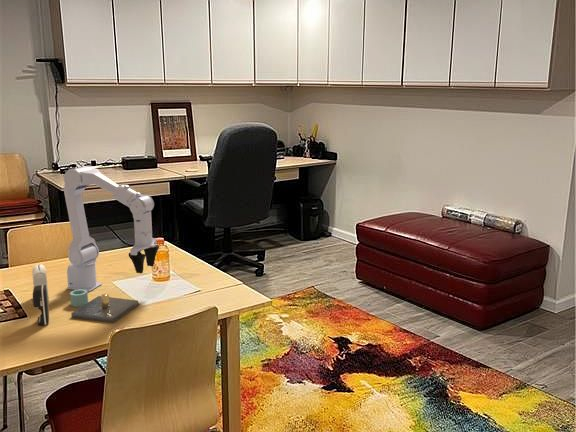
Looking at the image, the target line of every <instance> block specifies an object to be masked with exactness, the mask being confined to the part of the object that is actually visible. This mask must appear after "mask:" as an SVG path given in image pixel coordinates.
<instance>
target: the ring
mask: <svg viewBox="0 0 576 432" xmlns="http://www.w3.org/2000/svg"><path fill="white" fill-rule="evenodd" d="M88 292H89V291H87V290H83V289H80V290H72V291H70V292H69V301H70V306H71V307H76V308H80V307H82V306H83V305H85V304H87V303H88V302H89V294H88Z"/></svg>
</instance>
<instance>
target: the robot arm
mask: <svg viewBox="0 0 576 432" xmlns="http://www.w3.org/2000/svg"><path fill="white" fill-rule="evenodd" d="M63 181H64V186H63V192H64V193H63V194H64V198H65V204H66V209H67V214H68V220H69V224H70V225H69V226H70V229H71V230H70V231H71V235H72V240H71V242H70V244H69V245H68V254H67V256H68V257H67V258H68V260H69V264H68V265H67V270H66V275H67V287H66V289H67V290H72V291H74V290H80V289H83V290H87V292H91V291H93V290H95V289H97V288H98V287H100V286H101V285H103V283H102V282H97V270H96V269H97V268H96V262H97V258H98V257H99V254H100V249H99V247H98V246H97V244H96V240H95V238H93V237H91V236H90V231H89V227H88V222H87V217H86V212H85V207H84V201H83V196H82V195H83V194H82V193H83V192H84V191H85V189H86V188H87V187H89V186H90V185H91V186H92V185H95V186H97V187H99V188H100V189H103V190H104V191H107V192H108V193H111V194H113V198H114V200H116V201H118V202H119V203H121V204H123V205H124V206H126V207H128V208H129V211H130V212H131V214H132V218H133V225H134V226H133V227H134V228H133V229H134V245H133V246H132V248H130V249H129V251H130V252H129V253H128V257H129V258H130V260H131V262H132V263H133V266H134V270H135V273H136V274H143V273H144V263H145V261H146V265H147V267H154V265H155V262H156V260H155V259H156V255H157V253H158V251H159V249H160V245H158V244H157V243H158V242H157V241H158V240H157V238H156V237H153V226H152V224H153V223H152V211H153V209H154V207H155V202H154V200H153V198H152V197H151V196H150V195H149V194H141V192H137V191H135V190H134V189H132V188H130V185H128V184H121V185H119V184H117V183H116V182H114V181H113V180H111V179H110V178H109V177H107V176H106V175H104V174H102V173H101V172H100V170H99V169H98V168H95V167H94V166H92V165H84V166H79V167H76V168H70V169H68V170H67V171H66V172H65V173H64V175H63ZM142 251H143V252H144V253H142Z"/></svg>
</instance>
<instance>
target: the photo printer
mask: <svg viewBox="0 0 576 432" xmlns="http://www.w3.org/2000/svg"><path fill="white" fill-rule="evenodd" d="M31 273H32V282H33V288H34V287H35V286H39V285H46V290H47V300H48V303H49V300H50V299H49V297H50V296H49V288H48V278H47V277H48V276H47V269H46V267H45V266H44V265H43V264H42V263H41V264H39V263H38V264H35V265H34V266H33V268H32V272H31Z"/></svg>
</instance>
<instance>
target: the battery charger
mask: <svg viewBox="0 0 576 432" xmlns="http://www.w3.org/2000/svg"><path fill="white" fill-rule="evenodd" d="M32 306H33V307H34V308H38V310H39V311H40V314H39V316H37V325H38V326H48V325H49V322H50V313H49V302H48V300H47V290H46V285H39V286H35V287H34V286H33V288H32Z"/></svg>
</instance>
